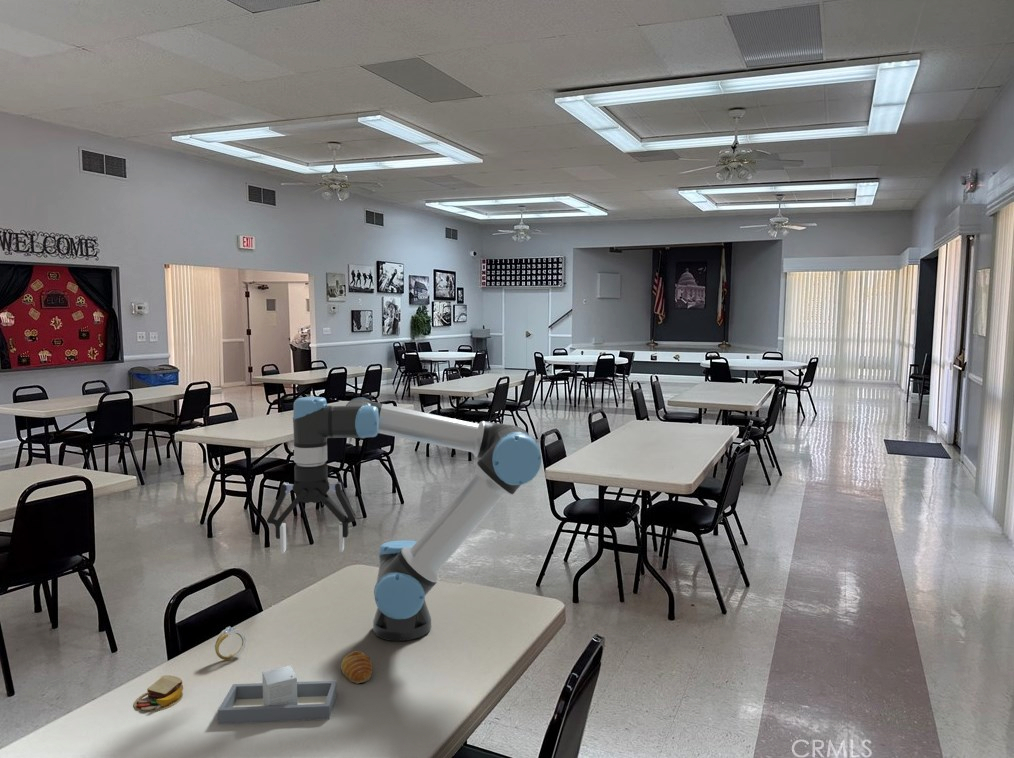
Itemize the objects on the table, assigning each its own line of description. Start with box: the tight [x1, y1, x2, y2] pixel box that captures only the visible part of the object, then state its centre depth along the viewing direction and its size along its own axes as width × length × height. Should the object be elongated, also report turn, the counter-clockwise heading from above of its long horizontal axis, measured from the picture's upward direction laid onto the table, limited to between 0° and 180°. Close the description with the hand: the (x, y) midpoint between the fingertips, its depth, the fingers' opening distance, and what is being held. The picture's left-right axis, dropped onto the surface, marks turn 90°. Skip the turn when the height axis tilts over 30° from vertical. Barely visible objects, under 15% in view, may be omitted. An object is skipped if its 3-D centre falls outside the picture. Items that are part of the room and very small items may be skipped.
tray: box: [217, 680, 338, 725], centre depth 146 cm, size 22×10×4 cm, turn 95°
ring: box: [214, 625, 247, 661], centre depth 167 cm, size 7×3×8 cm, turn 122°
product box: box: [261, 665, 298, 706], centre depth 146 cm, size 6×6×7 cm
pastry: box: [340, 650, 373, 684], centre depth 160 cm, size 9×7×4 cm
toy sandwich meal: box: [133, 674, 184, 713], centre depth 150 cm, size 9×10×4 cm
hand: (312, 551), depth 166 cm, fingers open, 13 cm apart
